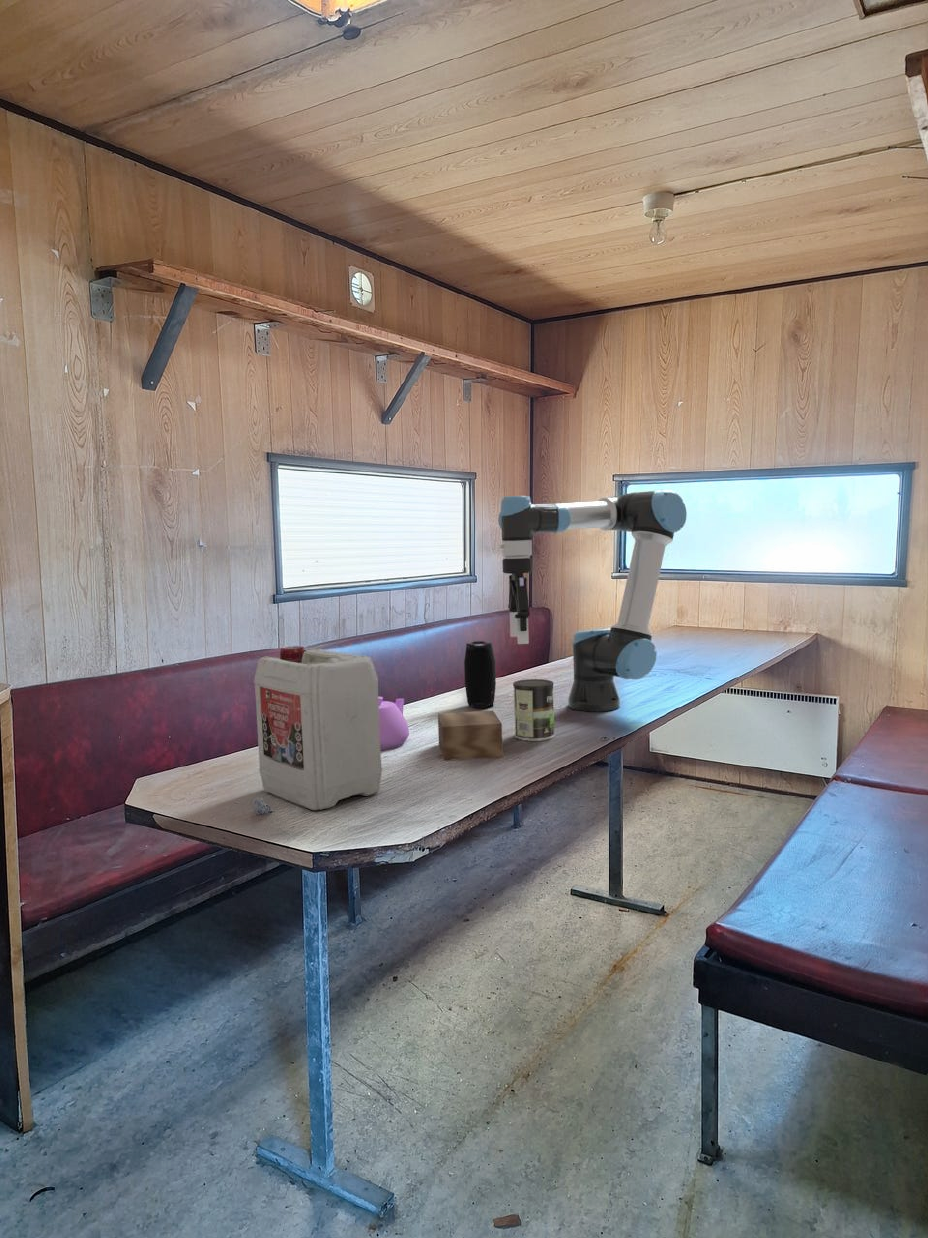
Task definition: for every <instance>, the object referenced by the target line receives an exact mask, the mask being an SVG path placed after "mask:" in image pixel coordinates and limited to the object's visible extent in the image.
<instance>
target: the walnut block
mask: <svg viewBox="0 0 928 1238" xmlns="http://www.w3.org/2000/svg"><path fill="white" fill-rule="evenodd" d="M502 725H503V724H502V722H501V720H500V719H499V717H498V715H497V714H496V713H495V711H494V710H482V711H481V710H479V711H477V710H475V711H462V712H461V711H459V712H441V713H437V728H438V746H440V747H439V749H440V753H442V754H441V757H442V760H443V761H449V760H448V759H457V760H470V758H474V759H488V758H489V759H491V758H501V757H504V756H503V729H502V728H503V727H502Z"/></svg>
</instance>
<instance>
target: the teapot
mask: <svg viewBox="0 0 928 1238" xmlns="http://www.w3.org/2000/svg"><path fill="white" fill-rule="evenodd" d="M383 699H384V697H383V696H379V695H378V704H379V730H380V751H382V750H390V749H394V748H398V747H400V746H402V745H403V744H404V743H405V742H406V740H407V739H408V737H409V736H410V731H409V730H410V729H409V725H408V722H407V720H406V717H405V716H404V705H405V704H404V703H405V699H404V698H396V699H395V702H392V701H387V700H383Z"/></svg>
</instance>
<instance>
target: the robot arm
mask: <svg viewBox="0 0 928 1238" xmlns="http://www.w3.org/2000/svg"><path fill="white" fill-rule="evenodd" d="M683 500H684V499H682V496H680V495H679V494H678V493H677V492H675V491H673V490H663V489H657V490H651V491H639V492H638V491H637V492H629V493H624V494H620V495H617V496H610V497H609V496H608V497H602V498H600V499H598V500H597V501H583V502H580V501H579V502H563V503H561V502H560V503H556V502H554V503H552V502H551V503H532V501H531V497H530V496H528V495H512V496H504V497H502V499H501V502H500V503H501V504H500V512H499V513H498V518H497V519H498V526H499V528H500V530H501V541H502V542H501V544H499V549H501V550H502V557H504V558H503V559H502V560H501V561H502V573H503V574H509V576H508V579H509V580H508V585H509V588H508V589H509V590H508V606H507V607H508V611H509V631H510V632H509V633H510V635H509V637H510V638H516V639H517V645H529V643H530V641H529V640H530V638H529V635H530V634H529V616H530V607H529V606H530V605H529V596H528V589H527V588H528V585H527V581H528V578H527V577H525V576H524V574H529V573H530V574H531V573H532V572H533V559H532V558H531V557H530V556H532V555H533V541H532V534H547V533H551V534H552V533H554V534H556V533H563V532H565V531H570V530H580V529H582V530H583V529H598V528H599V529H600V530H602V531H618V532H629V533H630V532H631V533H630V535H631V537H632V538H633V539H634V545H633V551H632V554H631V560H630V564H629V568H628V573H627V577H626V582H625V585H624V591H623V595H622V601H621V606H620V610H619V615H618V619H617V622H616V623H615V624H613V625H611V626H610V627H609V628H596V629H587V630H579V631H576V632H575V633H574V635H573V642H572V655H573V657H572V658H573V660H572V661H573V682H572V686H571V690H570V692H569V694H568V695H569V696H568V698H567V699H568V700H567V702H568V707H569V708H570V709H572V710H575V711H582V712H583V711H584V712H605V711H613V710H616V709H619V708H620V705H621V703H620V696H619V693H618V691H617V687H616V684H615V682H614V681H615V680H614V677H618V678H620V679H624V680H639V679H642V678H645V677H646V676H647V675H648V674H650V672H651V671H652V670H653V668H654V666H655V665H656V661H657V650H656V646H655V644H654V642H652V637H653V634H652V632H651V631H650V629H649V625H650V622H651V621H650V620H651V616H652V612H653V607H654V602H655V599H656V598H655V597H656V593H657V589H658V584H659V579H660V574H661V570H662V565H663V560H664V555H665V551H666V547H667V546H668V545H670V544H671V543H672V542H673V541H674V536H675V533H677V532H678V531H680V530H682V528H684V526H685V525H686V520H687V517H688V515H687V514H688V513H687V507H686V504H685V503H684V501H683Z"/></svg>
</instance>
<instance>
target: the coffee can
mask: <svg viewBox="0 0 928 1238" xmlns="http://www.w3.org/2000/svg"><path fill="white" fill-rule="evenodd" d="M512 686H513V704H514V710H513V711H514V737H515V738H516V739H517V738H518V739H517V740H520V739H521V741H525V740H528V741H527V742H539V741H540V742H541V741H542V742H543V741H549V740H551V739H553V738H555V723H554V721H555V720H554V681H551V680H548V679H543V678H542V679H537V678H529V679H528V678H527V679H520V680H516V681H514V682H513V683H512Z"/></svg>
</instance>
